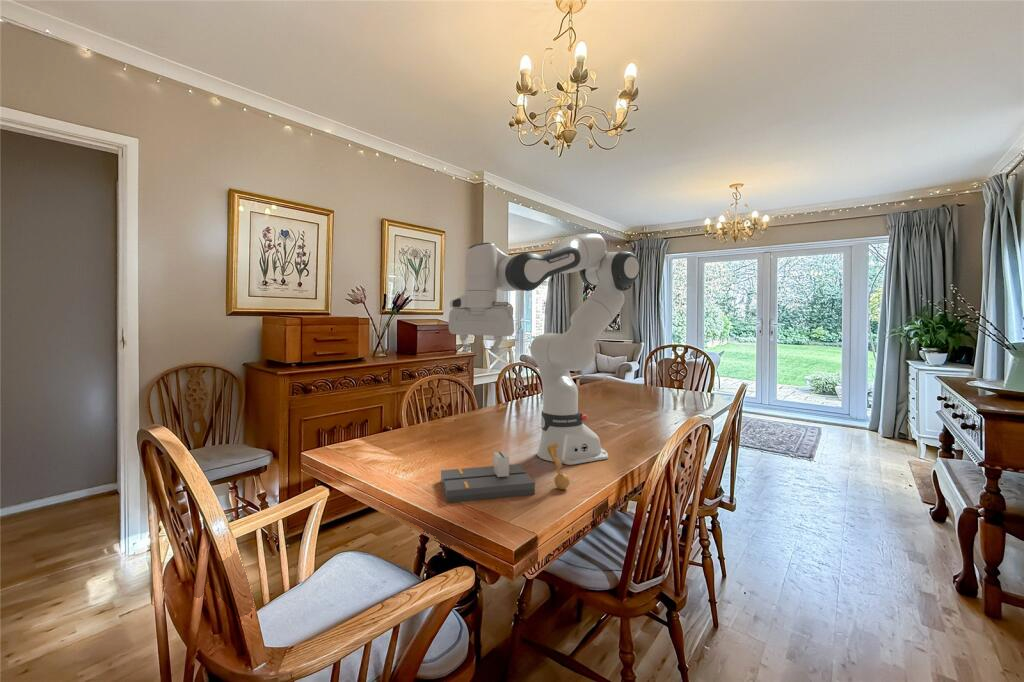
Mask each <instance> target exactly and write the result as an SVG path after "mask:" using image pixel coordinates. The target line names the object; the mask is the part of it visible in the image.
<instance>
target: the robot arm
mask: <svg viewBox="0 0 1024 682" xmlns="http://www.w3.org/2000/svg"><path fill="white" fill-rule="evenodd" d="M607 248H608V247H607V243H606V240H605V238H603V237H602V235H600V234H598V233H594V232H593V233H589V232H587V233H578V234H575V235H571V236H566V237H564V238H562V239H560V240H558V241H557V242H555V243H554V244H553V245H552V247H551V251H550V252H547V253H544V254H537V253H533V252H523V253H519V254H516V255H508V254H505V253H504V252H503V251H501V250H500V249H499V248H498V247H497V246H496V244H495V243H494V242H480V243H475V244H472V245H470V246H468V248H467V251H466V254H465V255H466V256H465V262H464V263H465V265H464V276H465V280H466V281H465V282H466V284H465V286H464V287H465V288H464V294H463V295H461V296H458V297H456V298H454V299H452V300H450V302H449V307H450V308H451V309H450V310H449V314H448V331H449V333H450V334H451V335H459V340H460V342H461V344H462V350H463V351H465V352H466V351H467V352H468V351H469V352H470V351H471V350H472V349H471V347H472V346H471V345H472V344H470V343H469V342H468V338H469V335H471V336H490V337H492V336H493V340H494V343H493V345H490V353H496V354H497V353H499V350H500V349H499V346H500V345H501V343H502V341H503V337H512V336H513V335H514V333H515V321H514V307H513V306H512V304H511V303H509V301H497V298H498V297H497V296H498V294H497V293H498V292H497V291H498V290H500V291H502V292H513V291H521V292H523V291H525V292H529V291H531V292H532V291H533V290H535V289H537V288H538V287H539V286H540V285H542V284H543V282H544V281H545V280H546V279H549V278H550V277H551V276H556V275H557V274H572V273H576V272H579V276H580V278H581V280H582V281H583V282H584V283H585V284H586V285H588V286H594V287H595V289H594V292H593V293H592V294H591V295H590V296H589V297H588V298H587V299H586V300H584V302H583V303H582V304H580V306H579V307H578V308H577V309H576V310H575V311H574V312H573V313H572V314H571V317H570V320H569V321H570V326H569V328H568V329H567V331H565V332H562V333H556V332H547V333H543V334H540V335H537V336H535V338H533V339H532V341H531V343H530V348H529V349H530V350H529V351H530V355H531V357H532V359H533V360H534V361H535V363H536V366H537V368H538V369H537V370H538V372H539V376H540V381H541V384H542V385H541V386H542V411H541V415H540V426H541V427H540V428H541V434H540V441H539V445H538V450H537V452H536V455H537V456H538V457H539V459H542V460H544V461H547V462H548V461H549V462H554V460H553V459H552V458H551V456H550V454H549V453H548V451H547V447H548V446H549V445H553V444H555V443H557V446H558V447H557V448H556V449H557V456H556V457H557V458H558V459H559V460H560V461H561V464H564V465H569V466H571V465H578V464H583V463H585V464H586V463H589V462H596V461H601V460H607V459H608V458H609V453H608V452H607V451H606V450H605V449H604V448H602V447H601V440H600V437H599V436H598V435H597V434H596V433H595V432H594V431H593V430H592V429H590V428H589V427H588V426H587V425H585V424H584V423H583V421H584V422H588V420H589V419H590V418H589V415H587V414H585V413H581V412H580V411H578V410H579V407H578V406H579V405H578V403H579V388H578V386H577V384H576V383H575V382H574V380H573V378H572V375H571V372H575V371H576V372H577V371H585V370H587V369H590V367H591V366H592V365H593V364H594V362H595V360H596V357H597V356H596V354H597V353H596V352H597V351H596V347H595V344H596V342H597V340H598V338H599V337H600V336H601V334H603V332H604V331H605V330H606V329H607V327H608V326H609V325H610V324H611V323H612V322H613V321H614V320H615V318H616V317H617V315H618V314H619V313H620V311H621V309H622V307H623V306H624V304H625V294H624V291H627V290H629V289H631V287H632V284H634V283H635V282H636V280H637V278H638V277H639V275H640V271H641V264H640V260H639V258H638V256H637V255H636V254H634V253H633V252H631V251H623V250H622V251H607ZM554 463H555V462H554Z"/></svg>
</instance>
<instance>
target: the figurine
mask: <svg viewBox="0 0 1024 682" xmlns="http://www.w3.org/2000/svg"><path fill="white" fill-rule="evenodd" d="M557 447H558V446H557V443H555V444H553V445H549V446H548V447H547V451H548V453H549V454H550V456H551V458H552V459H553V460H554V464H555V465H556V467H555V469H556V472H557V475H555V477H554V480H553V481H554V486H555V487H556V488H557V489H558V490H566V489H567V488H569V486H570V482H571V481H570V478H569V476H568V475H567V474H566V473H564V472H562V471H561V470H560V469H561V468H562V466H563V465H562V464H563V463H561V461H560V460H559V459H558V458H557V457H556V456H557V449H556V448H557Z"/></svg>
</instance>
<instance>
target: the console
mask: <svg viewBox="0 0 1024 682" xmlns="http://www.w3.org/2000/svg"><path fill="white" fill-rule="evenodd" d="M440 483H441V487H442V489H443V493H444V496H445V497H446V498H445V500H446V503H447V504H449V503H448V502H452V503H460V502H461V503H462V502H469V501H470V502H471V501H472V502H473V501H481V500H488V499H489V500H490V499H491V500H492V499H498V498H499V499H500V498H510V497H520V495H522V496H530V495H529V494H532V495H535V493H536V491H535V490H536V489H535V488H536V482H535V481H534V480H533V479H532V477H531V476H530V475H529V473H527V471H526V470H525V469H524V468H523V467H522V465H521V463H516V464H509V476H504V477H497V475H496V474H495V472H494V465H490V466H489V465H487V466H478V467H477V466H476V467H464V468H454V469H441V470H440Z"/></svg>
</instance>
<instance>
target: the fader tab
mask: <svg viewBox="0 0 1024 682" xmlns="http://www.w3.org/2000/svg"><path fill="white" fill-rule="evenodd" d="M509 465H510V456H509V455H508V454H507V452H506V451H496V452H493V466H494V472H495V474H496V475H497V477H504V476H509Z"/></svg>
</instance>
